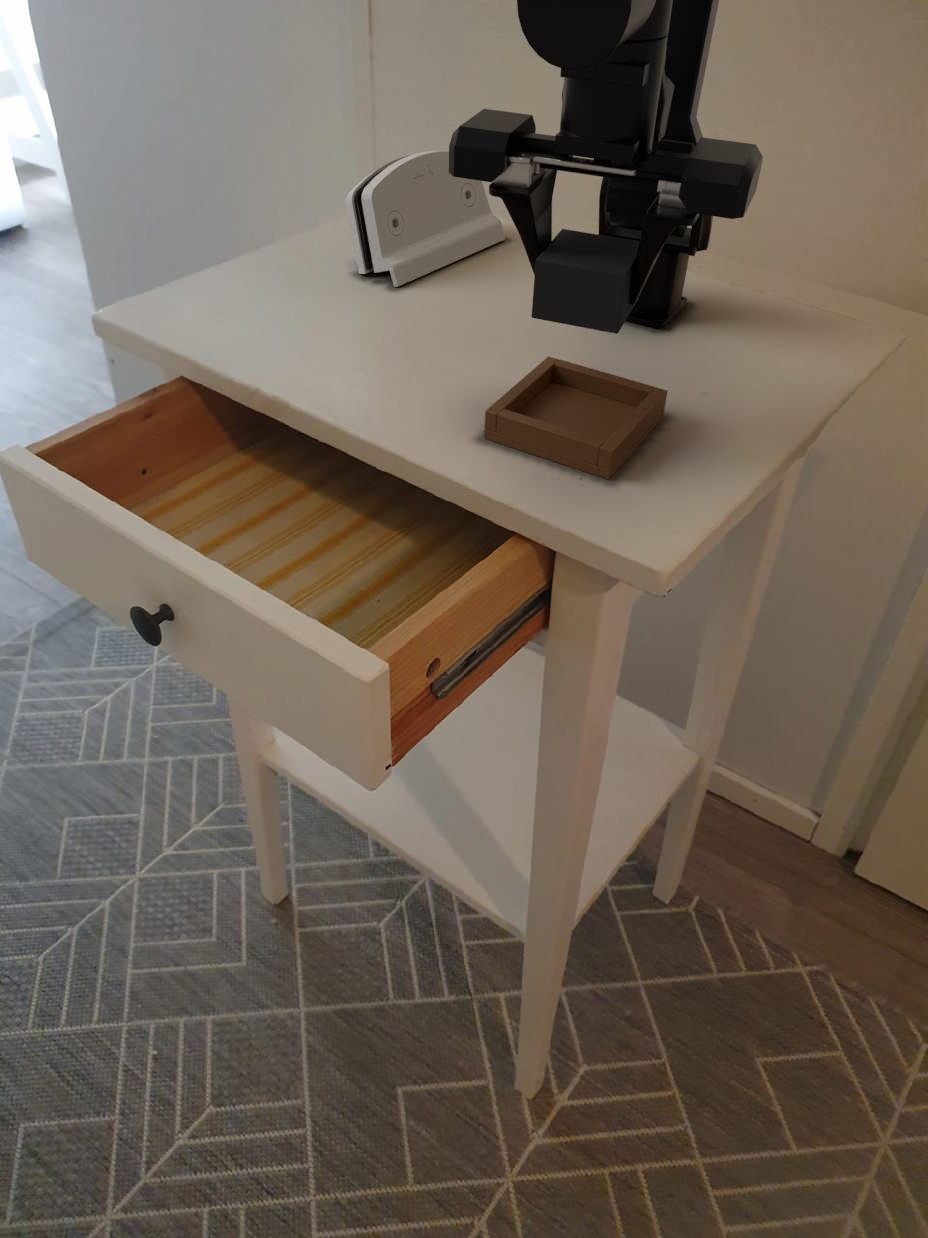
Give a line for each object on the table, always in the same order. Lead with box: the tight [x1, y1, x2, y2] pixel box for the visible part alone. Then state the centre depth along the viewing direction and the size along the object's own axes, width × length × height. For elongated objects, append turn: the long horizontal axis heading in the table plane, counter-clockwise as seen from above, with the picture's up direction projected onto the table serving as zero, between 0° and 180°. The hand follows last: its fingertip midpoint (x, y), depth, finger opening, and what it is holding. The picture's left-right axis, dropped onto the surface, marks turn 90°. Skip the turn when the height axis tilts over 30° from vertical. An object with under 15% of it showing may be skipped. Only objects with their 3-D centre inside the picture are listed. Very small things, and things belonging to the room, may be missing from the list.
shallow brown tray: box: [483, 356, 669, 480], centre depth 71 cm, size 10×10×2 cm
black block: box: [531, 228, 640, 335], centre depth 65 cm, size 6×6×4 cm
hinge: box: [345, 150, 506, 288], centre depth 94 cm, size 17×5×10 cm, turn 140°
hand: (588, 294), depth 66 cm, fingers closed on black block, 6 cm apart
